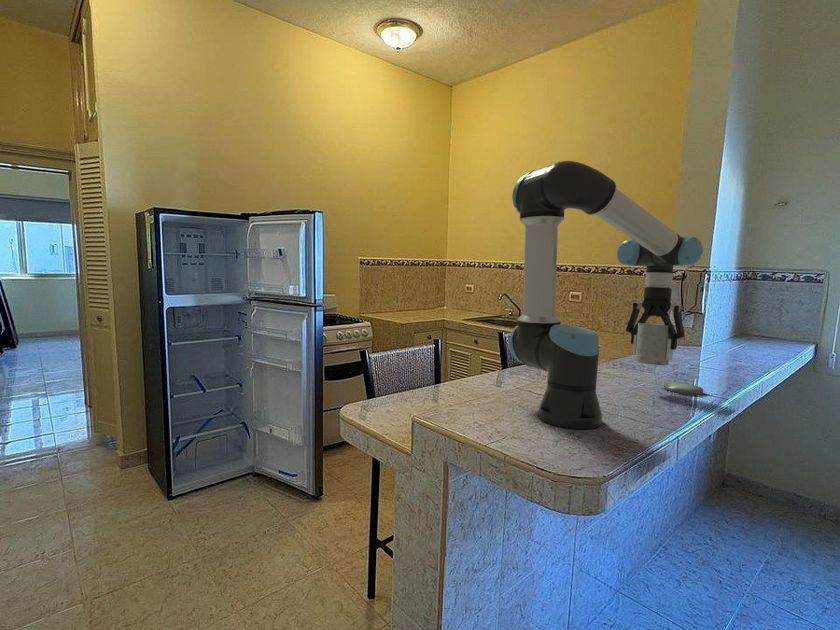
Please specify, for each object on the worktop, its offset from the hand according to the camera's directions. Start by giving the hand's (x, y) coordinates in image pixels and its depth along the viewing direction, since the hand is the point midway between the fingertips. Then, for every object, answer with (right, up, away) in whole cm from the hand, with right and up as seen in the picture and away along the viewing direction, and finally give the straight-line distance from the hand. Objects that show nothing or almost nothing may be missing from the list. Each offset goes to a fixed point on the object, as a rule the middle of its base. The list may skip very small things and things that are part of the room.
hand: (651, 357), depth 139 cm
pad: (+12, -12, +3) cm, 17 cm away
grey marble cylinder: (0, -2, 0) cm, 2 cm away
